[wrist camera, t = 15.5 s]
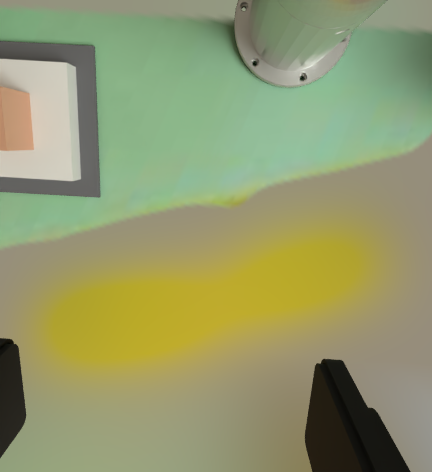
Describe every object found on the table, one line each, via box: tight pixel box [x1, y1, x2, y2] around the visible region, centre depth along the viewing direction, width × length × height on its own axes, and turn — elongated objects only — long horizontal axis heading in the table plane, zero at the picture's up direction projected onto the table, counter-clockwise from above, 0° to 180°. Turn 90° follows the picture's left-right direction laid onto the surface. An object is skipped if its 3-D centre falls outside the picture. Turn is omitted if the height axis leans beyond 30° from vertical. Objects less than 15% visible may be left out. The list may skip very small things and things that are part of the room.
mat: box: [0, 41, 100, 197], centre depth 41 cm, size 17×17×1 cm
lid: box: [0, 59, 81, 181], centre depth 37 cm, size 13×13×7 cm
